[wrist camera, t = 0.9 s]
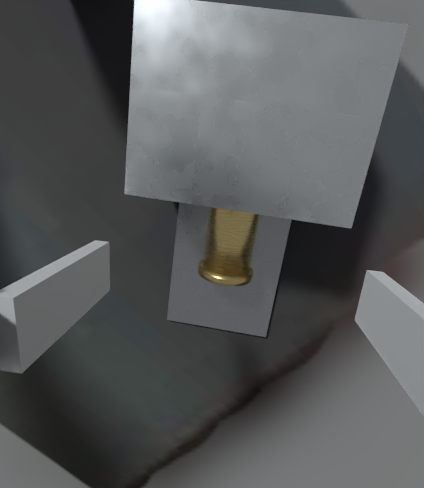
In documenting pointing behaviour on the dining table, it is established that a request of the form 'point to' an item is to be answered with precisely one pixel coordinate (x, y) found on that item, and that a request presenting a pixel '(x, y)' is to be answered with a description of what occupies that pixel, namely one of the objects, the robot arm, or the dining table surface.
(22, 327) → the robot arm
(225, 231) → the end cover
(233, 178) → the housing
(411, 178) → the dining table surface
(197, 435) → the dining table surface
